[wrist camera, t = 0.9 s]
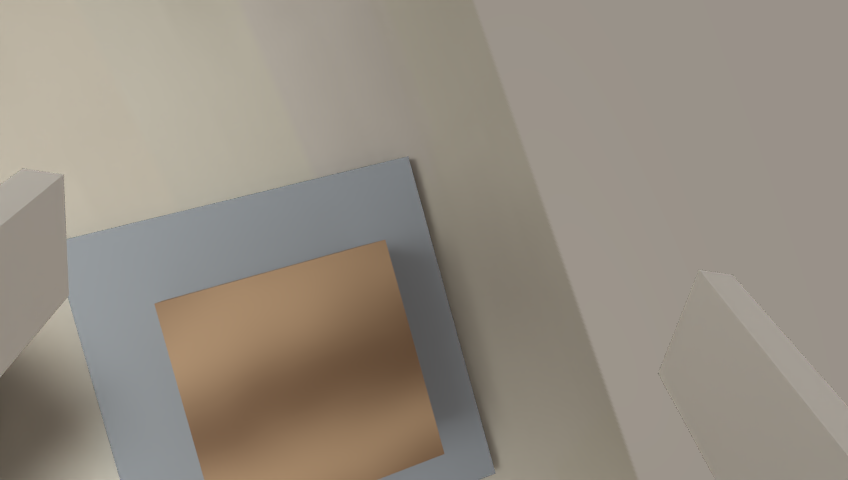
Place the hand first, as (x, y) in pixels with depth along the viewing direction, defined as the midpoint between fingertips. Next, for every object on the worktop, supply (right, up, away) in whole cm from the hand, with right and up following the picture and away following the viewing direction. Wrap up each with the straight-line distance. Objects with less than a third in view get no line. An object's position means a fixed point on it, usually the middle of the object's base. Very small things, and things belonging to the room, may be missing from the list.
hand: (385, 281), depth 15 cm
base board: (-6, -6, +22) cm, 24 cm away
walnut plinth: (-6, -6, +22) cm, 24 cm away
